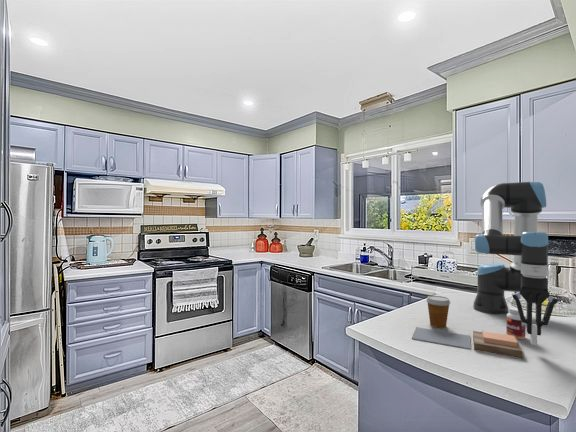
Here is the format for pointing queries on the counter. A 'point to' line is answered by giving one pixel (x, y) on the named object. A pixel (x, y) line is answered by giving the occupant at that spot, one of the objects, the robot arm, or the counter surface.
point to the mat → (442, 337)
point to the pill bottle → (515, 324)
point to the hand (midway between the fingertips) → (533, 343)
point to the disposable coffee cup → (438, 310)
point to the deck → (495, 347)
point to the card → (499, 338)
